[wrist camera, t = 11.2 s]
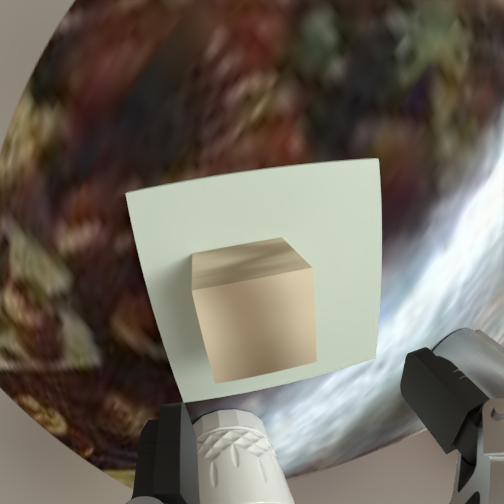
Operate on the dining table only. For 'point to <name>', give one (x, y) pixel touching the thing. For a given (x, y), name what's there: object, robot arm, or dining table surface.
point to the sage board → (258, 229)
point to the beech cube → (254, 308)
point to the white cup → (238, 461)
